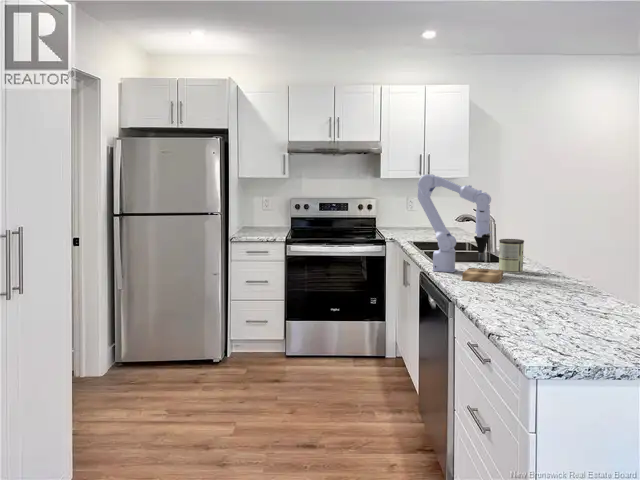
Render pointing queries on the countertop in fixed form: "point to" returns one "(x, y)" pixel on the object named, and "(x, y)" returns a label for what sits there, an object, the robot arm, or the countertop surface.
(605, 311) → the countertop surface
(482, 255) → the pin
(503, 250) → the coffee can
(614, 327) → the countertop surface
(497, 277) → the tan slotted block
